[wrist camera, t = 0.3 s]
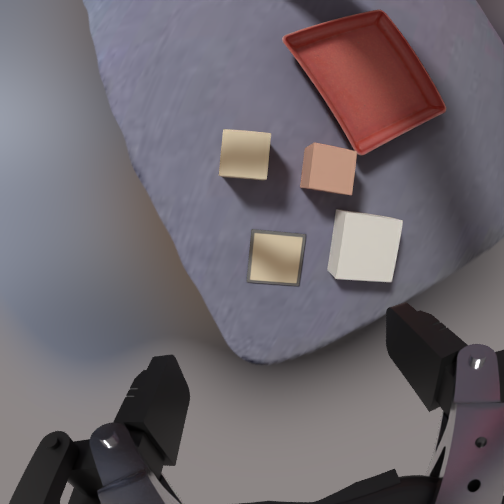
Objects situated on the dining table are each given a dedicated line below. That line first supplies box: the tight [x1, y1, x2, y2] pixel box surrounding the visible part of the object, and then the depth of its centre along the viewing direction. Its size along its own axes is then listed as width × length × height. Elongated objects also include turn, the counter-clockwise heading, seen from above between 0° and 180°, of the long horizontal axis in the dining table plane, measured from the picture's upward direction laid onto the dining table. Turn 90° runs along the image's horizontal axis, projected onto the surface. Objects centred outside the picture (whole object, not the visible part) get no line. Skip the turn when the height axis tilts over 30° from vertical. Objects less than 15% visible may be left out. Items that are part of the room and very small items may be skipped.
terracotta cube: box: [300, 143, 357, 195], centre depth 31 cm, size 5×5×5 cm
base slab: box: [327, 209, 403, 282], centre depth 34 cm, size 8×8×4 cm
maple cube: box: [219, 129, 271, 180], centre depth 31 cm, size 5×5×5 cm
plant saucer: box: [282, 10, 446, 155], centre depth 29 cm, size 18×18×3 cm
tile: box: [247, 229, 306, 286], centre depth 36 cm, size 7×7×1 cm
